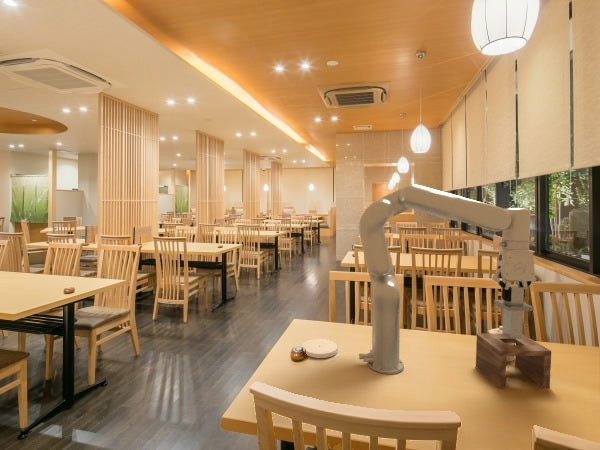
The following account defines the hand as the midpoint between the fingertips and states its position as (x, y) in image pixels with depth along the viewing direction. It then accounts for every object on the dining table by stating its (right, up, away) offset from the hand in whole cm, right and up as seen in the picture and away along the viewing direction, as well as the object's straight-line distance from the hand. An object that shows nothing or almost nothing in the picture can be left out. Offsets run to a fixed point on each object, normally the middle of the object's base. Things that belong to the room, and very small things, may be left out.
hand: (513, 299), depth 111 cm
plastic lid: (-63, -26, +22) cm, 71 cm away
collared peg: (0, -12, +1) cm, 12 cm away
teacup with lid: (+6, -25, +18) cm, 32 cm away
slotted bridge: (0, -26, +2) cm, 26 cm away
